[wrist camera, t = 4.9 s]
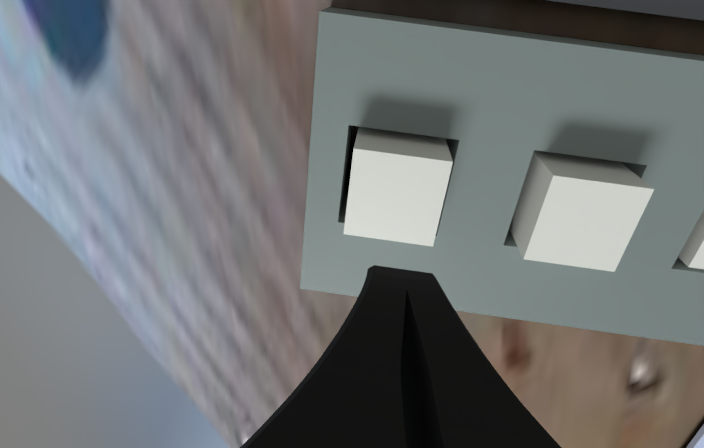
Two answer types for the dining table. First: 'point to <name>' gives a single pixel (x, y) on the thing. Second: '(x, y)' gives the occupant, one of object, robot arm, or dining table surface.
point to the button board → (512, 164)
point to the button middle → (578, 210)
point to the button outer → (397, 186)
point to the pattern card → (650, 6)
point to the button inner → (694, 246)
